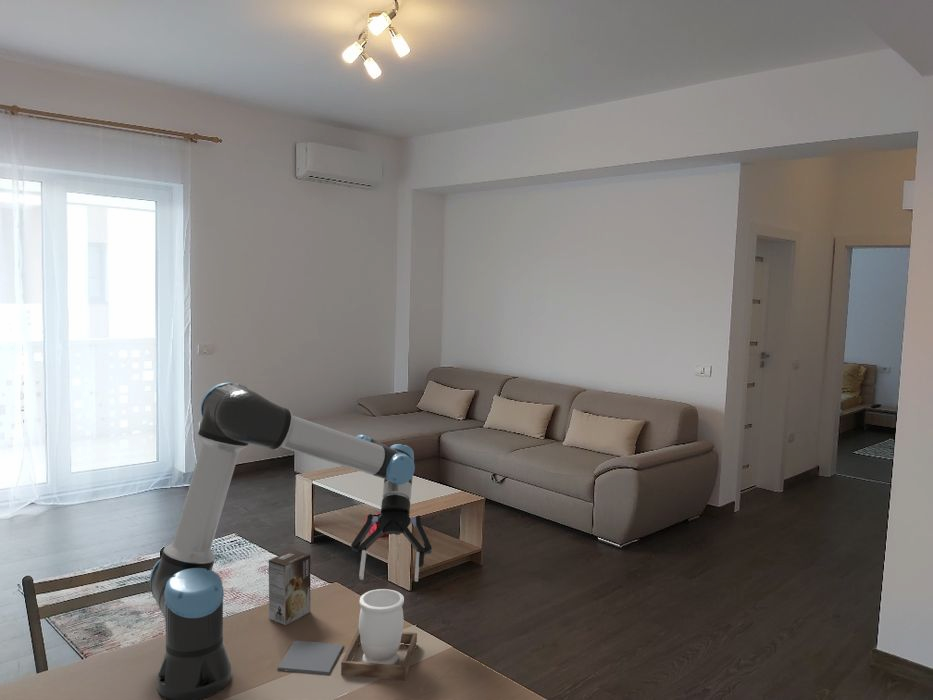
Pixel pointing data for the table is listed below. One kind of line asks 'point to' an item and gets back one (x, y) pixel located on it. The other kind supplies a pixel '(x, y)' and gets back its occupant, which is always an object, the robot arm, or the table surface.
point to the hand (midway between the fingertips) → (388, 578)
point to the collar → (373, 668)
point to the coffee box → (289, 586)
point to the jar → (381, 625)
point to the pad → (311, 657)
